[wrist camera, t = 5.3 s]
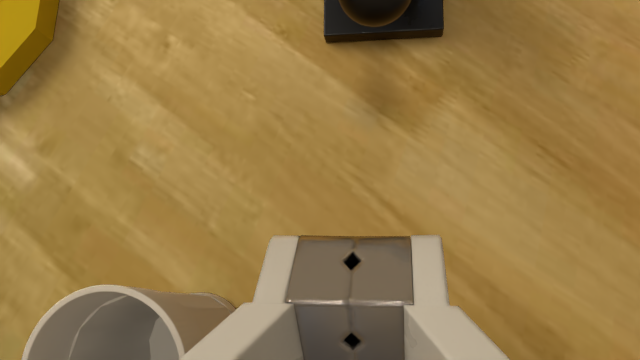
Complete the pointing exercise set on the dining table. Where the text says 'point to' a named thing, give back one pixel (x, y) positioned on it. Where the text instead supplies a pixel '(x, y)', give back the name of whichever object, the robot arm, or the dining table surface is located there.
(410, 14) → the black lever stand
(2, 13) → the decorative disc
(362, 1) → the lever with ball knob
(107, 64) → the dining table surface
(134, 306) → the cup
